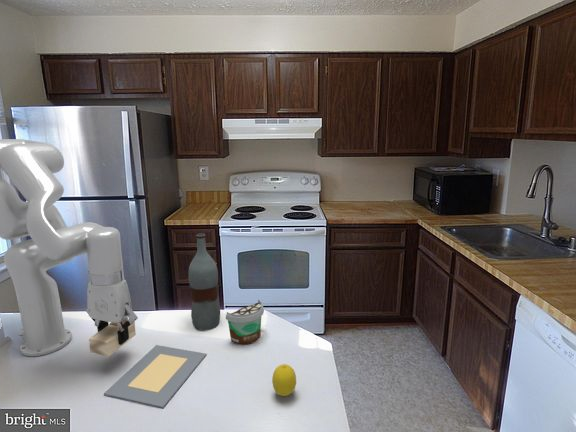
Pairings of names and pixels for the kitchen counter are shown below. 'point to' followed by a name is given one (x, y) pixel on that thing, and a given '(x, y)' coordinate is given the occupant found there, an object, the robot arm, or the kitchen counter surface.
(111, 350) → the birch block
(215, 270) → the bottle
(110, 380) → the kitchen counter surface
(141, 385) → the mat
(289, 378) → the lemon
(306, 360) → the kitchen counter surface
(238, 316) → the food container
